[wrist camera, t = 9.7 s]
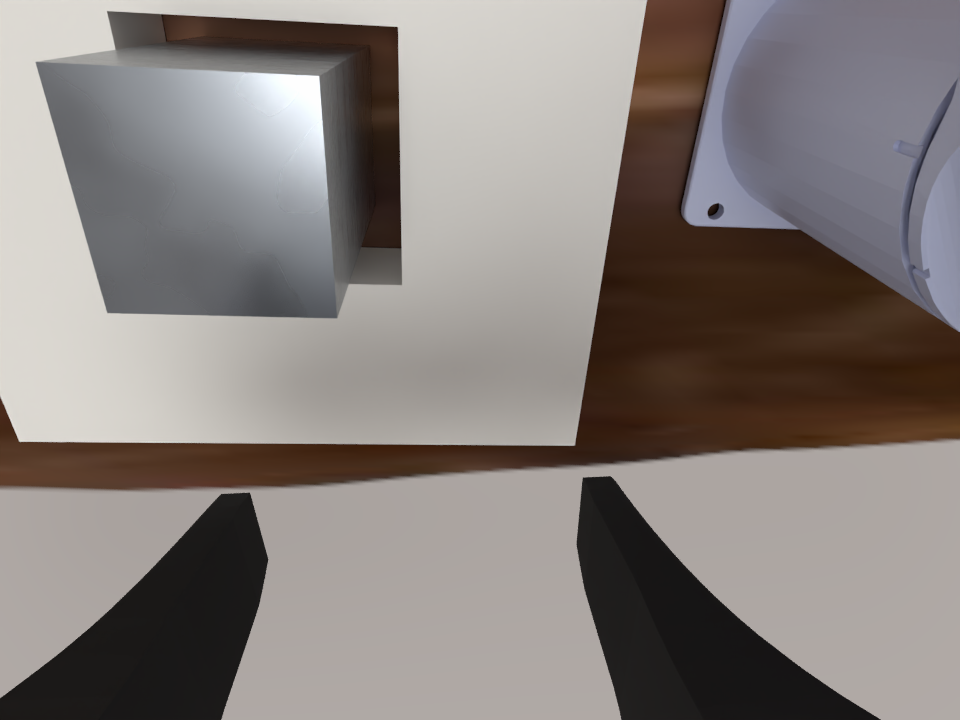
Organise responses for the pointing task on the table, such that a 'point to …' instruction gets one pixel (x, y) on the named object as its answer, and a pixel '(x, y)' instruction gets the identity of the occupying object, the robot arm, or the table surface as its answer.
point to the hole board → (378, 271)
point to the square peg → (219, 172)
